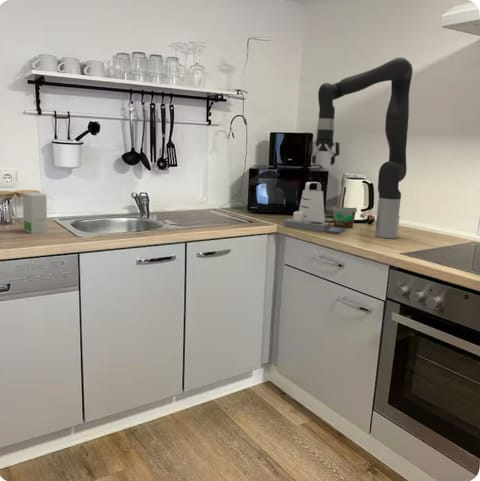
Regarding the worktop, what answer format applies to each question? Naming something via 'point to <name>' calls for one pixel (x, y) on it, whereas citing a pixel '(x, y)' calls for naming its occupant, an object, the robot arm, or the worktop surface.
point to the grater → (312, 203)
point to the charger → (298, 216)
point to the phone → (335, 230)
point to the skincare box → (35, 212)
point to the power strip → (307, 225)
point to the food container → (343, 216)
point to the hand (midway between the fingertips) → (322, 164)
